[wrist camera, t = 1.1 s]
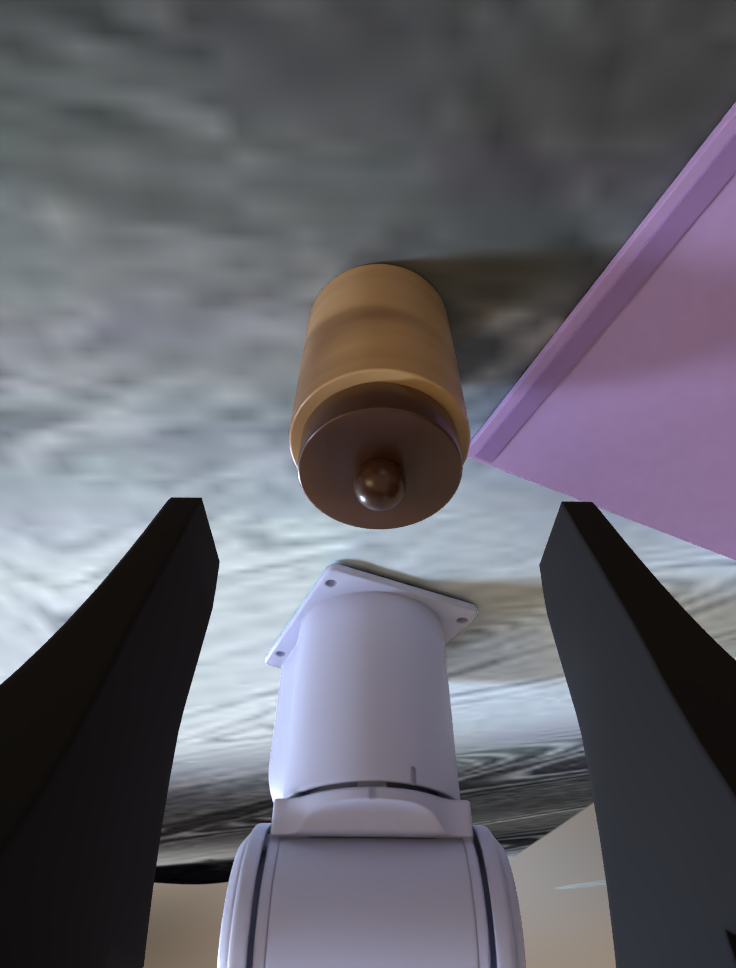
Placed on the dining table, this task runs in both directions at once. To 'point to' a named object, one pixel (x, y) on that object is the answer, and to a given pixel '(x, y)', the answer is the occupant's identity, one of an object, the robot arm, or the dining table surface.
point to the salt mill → (379, 401)
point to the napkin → (644, 371)
